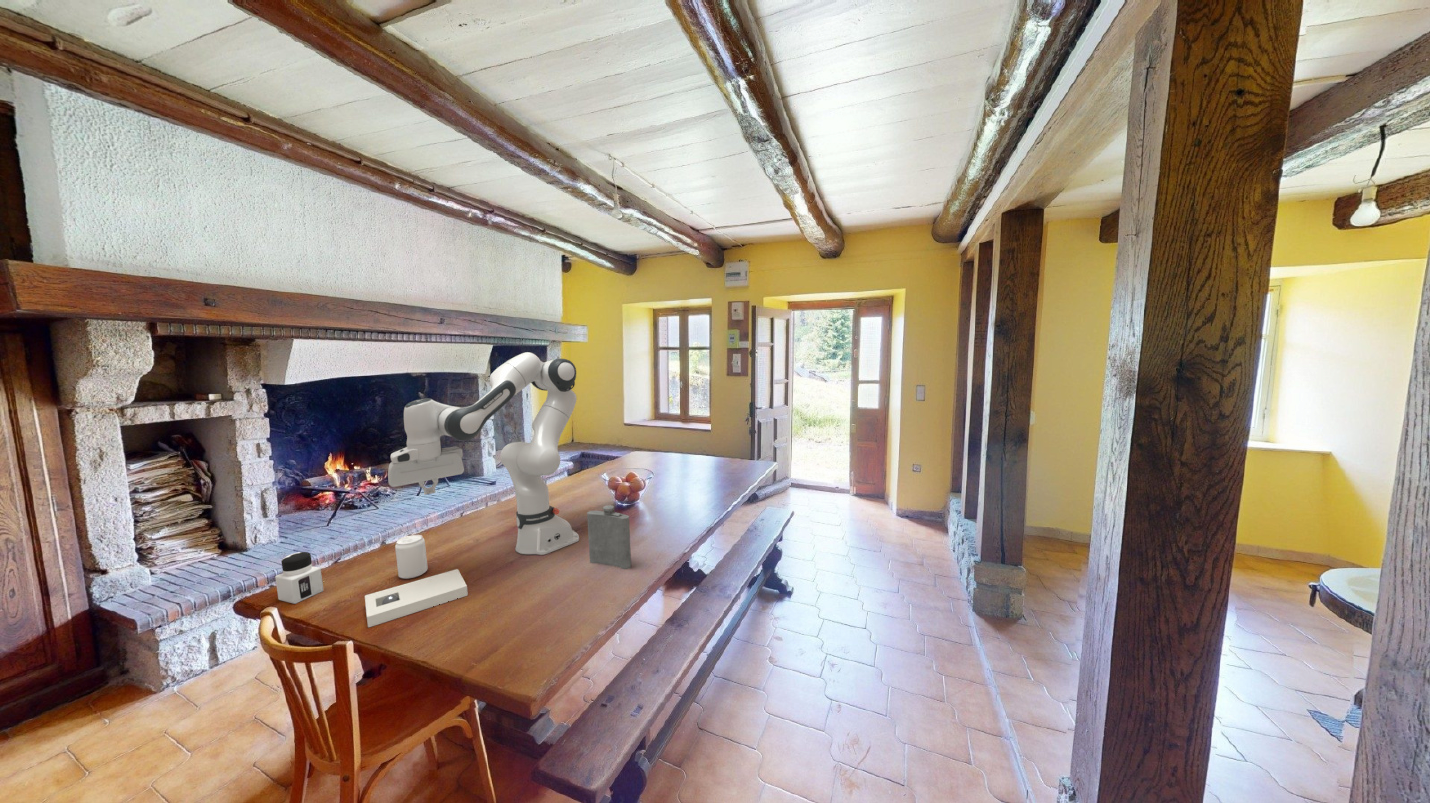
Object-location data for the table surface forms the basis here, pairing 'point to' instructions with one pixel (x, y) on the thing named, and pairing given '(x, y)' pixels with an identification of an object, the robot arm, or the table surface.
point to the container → (298, 578)
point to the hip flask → (609, 538)
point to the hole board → (415, 597)
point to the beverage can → (411, 556)
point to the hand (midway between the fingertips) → (429, 493)
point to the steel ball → (390, 599)
